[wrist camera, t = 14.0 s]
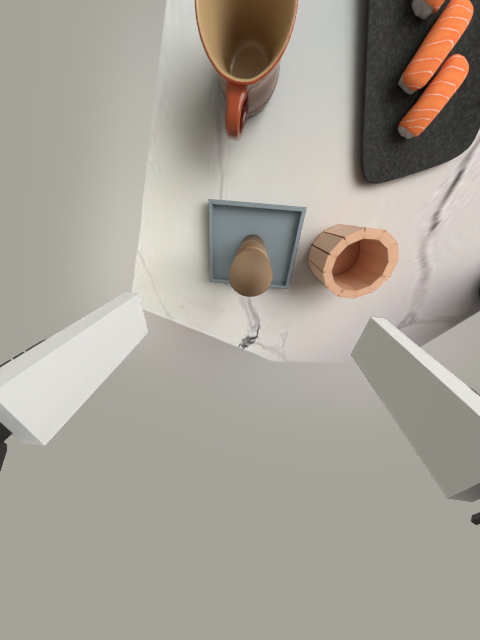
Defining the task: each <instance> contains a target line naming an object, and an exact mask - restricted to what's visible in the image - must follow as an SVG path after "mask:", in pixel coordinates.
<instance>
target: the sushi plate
mask: <svg viewBox="0 0 480 640" xmlns="http://www.w3.org/2000/svg"><path fill="white" fill-rule="evenodd" d="M479 129H480V0H368V5H367V28H366V52H365V76H364V99H363V123H362V172H363V175H364V178H365V180H366V181H367V182H370V183H380V182H385V181H389V180H393V179H396V178H400V177H403V176H406V175H409V174H413V173H416V172H419V171H422V170H425V169H428V168H431V167H434V166H437V165H440V164H442V163H445V162H447V161H450V160H452V159H454V158H455V157H457V156H459V155H460V154H462V153H463V152H464V151H465V150H467V149H468V148H469V146H470V145H471V144H472V142H473V141H474V139H475V137H476V135H477V133H478V131H479Z"/></svg>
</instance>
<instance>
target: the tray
mask: <svg viewBox="0 0 480 640" xmlns="http://www.w3.org/2000/svg"><path fill="white" fill-rule="evenodd" d="M306 208H307V207H296V206H284V205H272V204H261V203H249V202H237V201H225V200H214V199H209V257H210V282H220V283H230V281H229V270H230V267H231V264H232V262H233V260H234V258H235V256H236V254H237V251H238V249H239V247H240V245H241V243H242V241H243V239H244V238H245V237H246V236H248V235H251V234H255V235H258V236H259V237H261V238H262V240H263V242H264V245H265V248H266V252H267V255H268V259H269V262H270V265H271V269H272V281H271V284H270V286H269V287H272V288H282V289H288V287H289V283H290V278H291V274H292V270H293V265H294V261H295V256H296V252H297V248H298V243H299V239H300V235H301V230H302V226H303V221H304V217H305V213H306Z"/></svg>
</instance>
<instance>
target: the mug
mask: <svg viewBox="0 0 480 640" xmlns="http://www.w3.org/2000/svg"><path fill="white" fill-rule="evenodd" d="M297 6H298V0H195V11H196V20H197V26H198V31H199V35H200V38H201V41H202V44H203V47H204V50H205V52H206V54H207V56H208V58H209V60H210V62H211V64H212V65H213V67H214V68H215V70H216V71H217V72H218V76H219V81H220V85H221V89H222V91H223V94H224V96H225V99H226V101H227V106H226V118H225V127H226V133H227V136H228V138H229V139H231V140H234V141H239V140H240V138H241V136H242V132H243V128H244V125H245V122H246V120H247V117H248V116H254V115H256V114H257V113H259V112H260V111H261V110H262V109H263V108H264V107H265V106H266V105H267V103H268V101H269V100H270V98H271V96H272V94H273V92H274V89H275V87H276V84H277V80H278V76H279V69H280V60H281V57H282V55H283V53H284V51H285V49H286V47H287V45H288V42H289V40H290V37H291V34H292V31H293V27H294V23H295V18H296V13H297Z"/></svg>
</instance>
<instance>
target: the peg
mask: <svg viewBox="0 0 480 640" xmlns="http://www.w3.org/2000/svg"><path fill="white" fill-rule="evenodd" d="M229 281H230V284H231V286H232V287H233V289H234V290H235V291H236V292H238V293H239V294H241V295H243V296H248V297H253V296H257V295H260V294H262V293H263V292H265V291H266V290H267V289H268V287H269V286H270V284H271V281H272V269H271V265H270V262H269V259H268V255H267V252H266V248H265V245H264V242H263V240H262V238H261V237H259V236H258V235H255V234H251V235H248V236H246V237H245V238H244V239H243V241H242V243H241V245H240V247H239V249H238V251H237V254H236V256H235V258H234V260H233V262H232V264H231V267H230V270H229Z"/></svg>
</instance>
